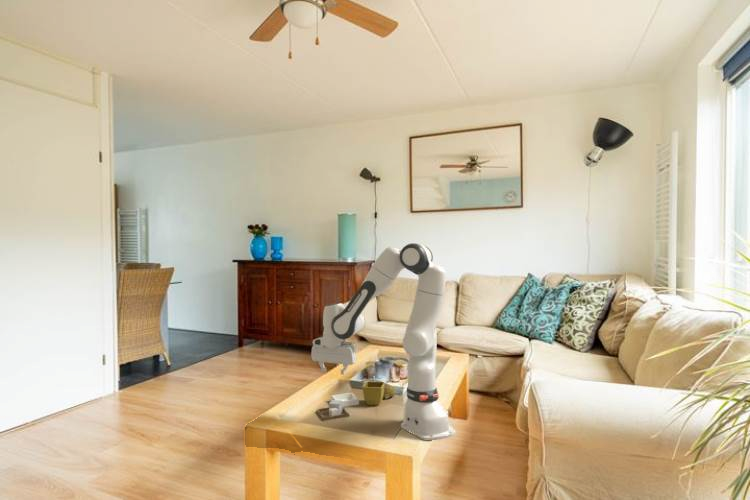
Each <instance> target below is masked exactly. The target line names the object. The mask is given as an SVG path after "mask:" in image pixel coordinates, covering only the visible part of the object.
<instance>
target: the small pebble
mask: <svg viewBox="0 0 750 500" xmlns="http://www.w3.org/2000/svg"><path fill="white" fill-rule="evenodd" d="M337 415H339V410H338V409H337V408H331V409H329V416H330V417H331V416H337Z"/></svg>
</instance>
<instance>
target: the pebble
mask: <svg viewBox="0 0 750 500" xmlns="http://www.w3.org/2000/svg"><path fill="white" fill-rule="evenodd" d="M328 407H329V409H331V408H337V409H338V410H339V414H340V413H341V412H342V401H341V400H332V399H331V401H330V402H328Z"/></svg>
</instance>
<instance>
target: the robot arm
mask: <svg viewBox="0 0 750 500" xmlns="http://www.w3.org/2000/svg"><path fill="white" fill-rule="evenodd" d="M433 258H434V257H433V253H432V251H431V249H429V247H427V246H426V245H424V244H421V243H418V242H417V243H413V242H412V243H408V244H406V245H405V246H403V247H402V249H399V248H397V247H395V246H388V247H386V248H385V249H384V250H383V251H382V252H381V254H379V255H378V257H377V258H376V259H375V261H374V263H373V264H372V266H371V267H370V269H369V271H368V272H367V275H366V276H365V278H364V280H363V281H362V283H361V285H360V286H359V288H358V289H357V291H356V292H355V294H354V295H353V297H352V298H351V300H350V301H349V302H348V304H347V305H346V306H345V305H344V304H343V303H342V302H336V303H335V302H334V303H329V304H325V306H324V309H323V314H322V326H323V332H322V336H320V337H318V338H315V339H312V347H311V353H310V354H311V360H312V361H313V362H318V365H319V367H320V368H321V371H320V372H321V373H326V372H327V367H325V365H324V364H325V363H329V364H338V365H339V364H340V365H342V367H343V369H341V370H340V375H343V376H344V375H346V373H347V372H346V371H347V369H348V367H349V366H352V365H353V364H355V363H356V362H357V355H356V345H355V343H353V342H352V341H344V340H347V339H350V338H351V337H352V336H354V335H356V334H358V333H360V332H361V331H363V330H364V328H365V326H366V318H365V317H364V315H363V314H362V313H363V311H364V310H365V308H366V307H367V306H368V304H369V303H370V302H371V301H372V300H373V299H375V298H376V297H377V296H380V295H381V294H384V293H385V292H386V291H388V289H389V288H390V287H391V286H392V285H393V283H394V282H395V280H396V279H397V277H398V275H399V274H400V272H401V271H402V270H404V269H406V270H407V271H409V272H411V273H413V274H415V275H417V277H418V281H417V286H416V290H415V291H416V292H415V296H414V301H413V306H412V310H411V313H410V316H409V319H408V322H407V324H406V329H405V333H404V336H403V339H402V348H403V349H404V351H405V353H406V354H408V355H409V357H408V363H407V387H406V397H407V399H406V401H405V404H404V405H403V406H404V407H403V420H402V421H403V422H401V423H400V428H401V429H403V430H405V429H406V430H405V431H407V430H408V431H407V432H409V431H410V432H412V433H414V434H415V435H414V434H413V435H414V436H416V435H417V436H416V437H418V438H419V439H422V440H424V441H436V440H442V439H448V438H450V437H452V436H455V435H456V434H457V432H456V430H455V429H454V427H453V426H452V425H451V424H450V421H449V419H450V418H449V415H450V414H449V411H448V410H445V409H444V407H443V404H441V402H440V399H439V397H440V394H439V392H438V388H437V385H436V362H437V348H438V347H437V345H438V333H437V330H436V329H437V325H438V322H439V319H440V316H441V310H442V306H443V301H444V297H445V292H446V285H447V272H446V270H445V268H443V266H441V265H439V264H436V263H434V262H433ZM410 432H409V433H410ZM412 433H411V434H412Z"/></svg>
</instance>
